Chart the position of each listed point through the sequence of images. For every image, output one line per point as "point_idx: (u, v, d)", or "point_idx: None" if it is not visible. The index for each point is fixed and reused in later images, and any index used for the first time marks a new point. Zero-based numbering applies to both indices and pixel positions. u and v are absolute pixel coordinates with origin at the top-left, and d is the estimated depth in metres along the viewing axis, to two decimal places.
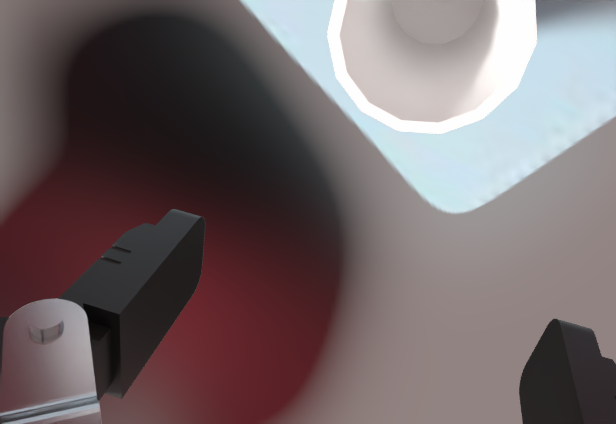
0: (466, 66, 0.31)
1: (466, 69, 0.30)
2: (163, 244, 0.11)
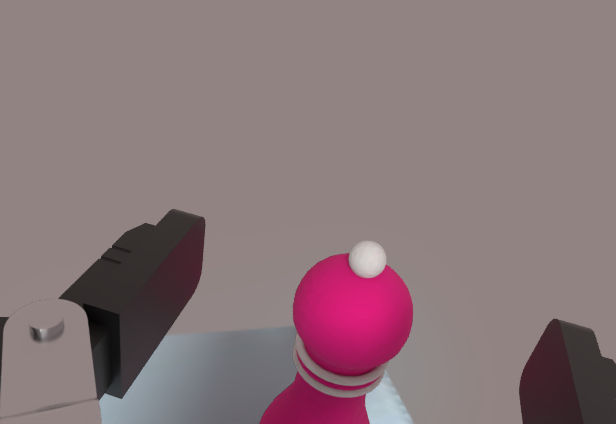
0: None
1: None
2: (163, 244, 0.11)
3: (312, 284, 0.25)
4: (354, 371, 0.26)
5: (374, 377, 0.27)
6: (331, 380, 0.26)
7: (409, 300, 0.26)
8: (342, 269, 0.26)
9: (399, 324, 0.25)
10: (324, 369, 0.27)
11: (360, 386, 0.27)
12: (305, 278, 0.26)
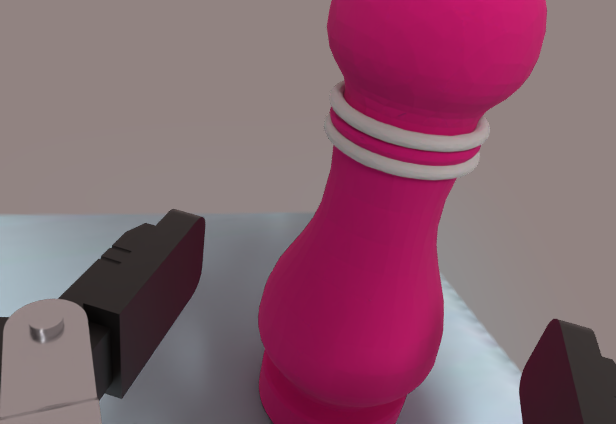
0: None
1: None
2: (163, 244, 0.11)
3: None
4: (440, 124, 0.15)
5: (473, 141, 0.15)
6: (399, 139, 0.15)
7: None
8: None
9: (534, 4, 0.13)
10: (385, 125, 0.15)
11: (449, 157, 0.15)
12: None
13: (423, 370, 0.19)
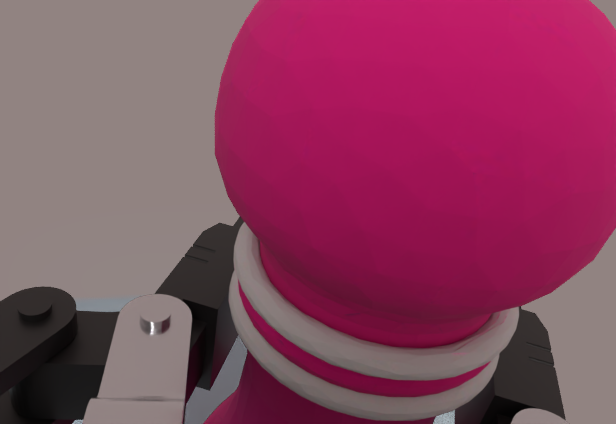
0: None
1: None
2: None
3: None
4: (429, 331, 0.08)
5: (491, 352, 0.08)
6: (348, 362, 0.07)
7: None
8: None
9: None
10: (323, 324, 0.08)
11: (446, 382, 0.08)
12: (255, 7, 0.08)
13: None
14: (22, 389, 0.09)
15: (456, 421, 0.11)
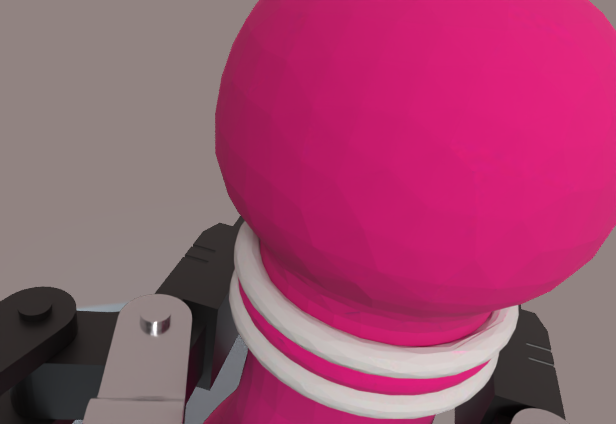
0: None
1: None
2: None
3: None
4: (429, 329, 0.08)
5: (491, 350, 0.08)
6: (348, 360, 0.07)
7: None
8: None
9: None
10: (324, 322, 0.08)
11: (446, 381, 0.08)
12: (255, 6, 0.08)
13: None
14: (22, 389, 0.09)
15: (456, 421, 0.11)
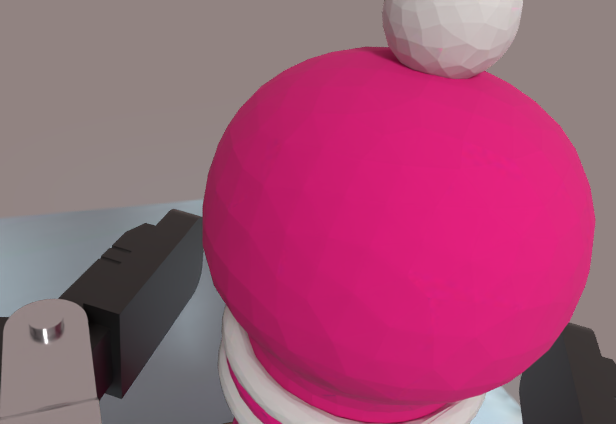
0: None
1: None
2: (163, 244, 0.11)
3: (255, 108, 0.07)
4: (400, 409, 0.08)
5: None
6: None
7: None
8: (360, 59, 0.07)
9: (577, 238, 0.07)
10: (303, 400, 0.08)
11: None
12: (239, 109, 0.08)
13: None
14: None
15: None
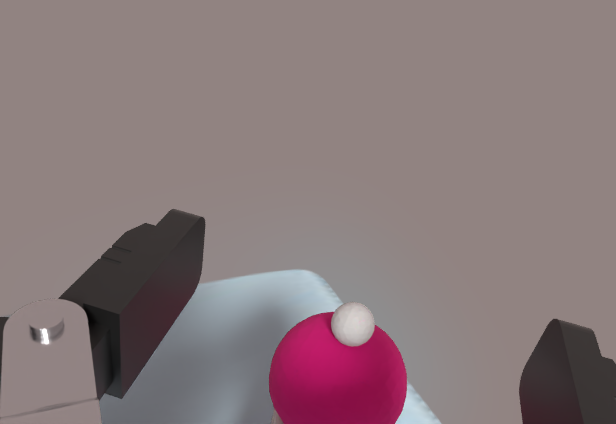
0: None
1: None
2: (163, 244, 0.11)
3: (289, 352, 0.22)
4: None
5: None
6: None
7: (402, 369, 0.22)
8: (324, 335, 0.22)
9: (390, 400, 0.21)
10: None
11: None
12: (282, 344, 0.23)
13: None
14: None
15: None
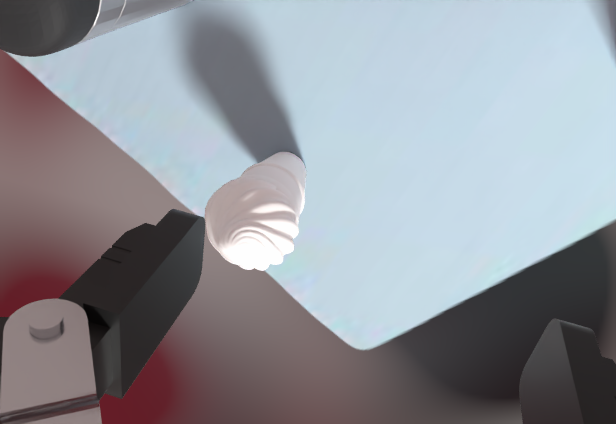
0: None
1: None
2: (163, 244, 0.11)
3: None
4: None
5: None
6: None
7: None
8: None
9: None
10: None
11: None
12: None
13: None
14: None
15: None
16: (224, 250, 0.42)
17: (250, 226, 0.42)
